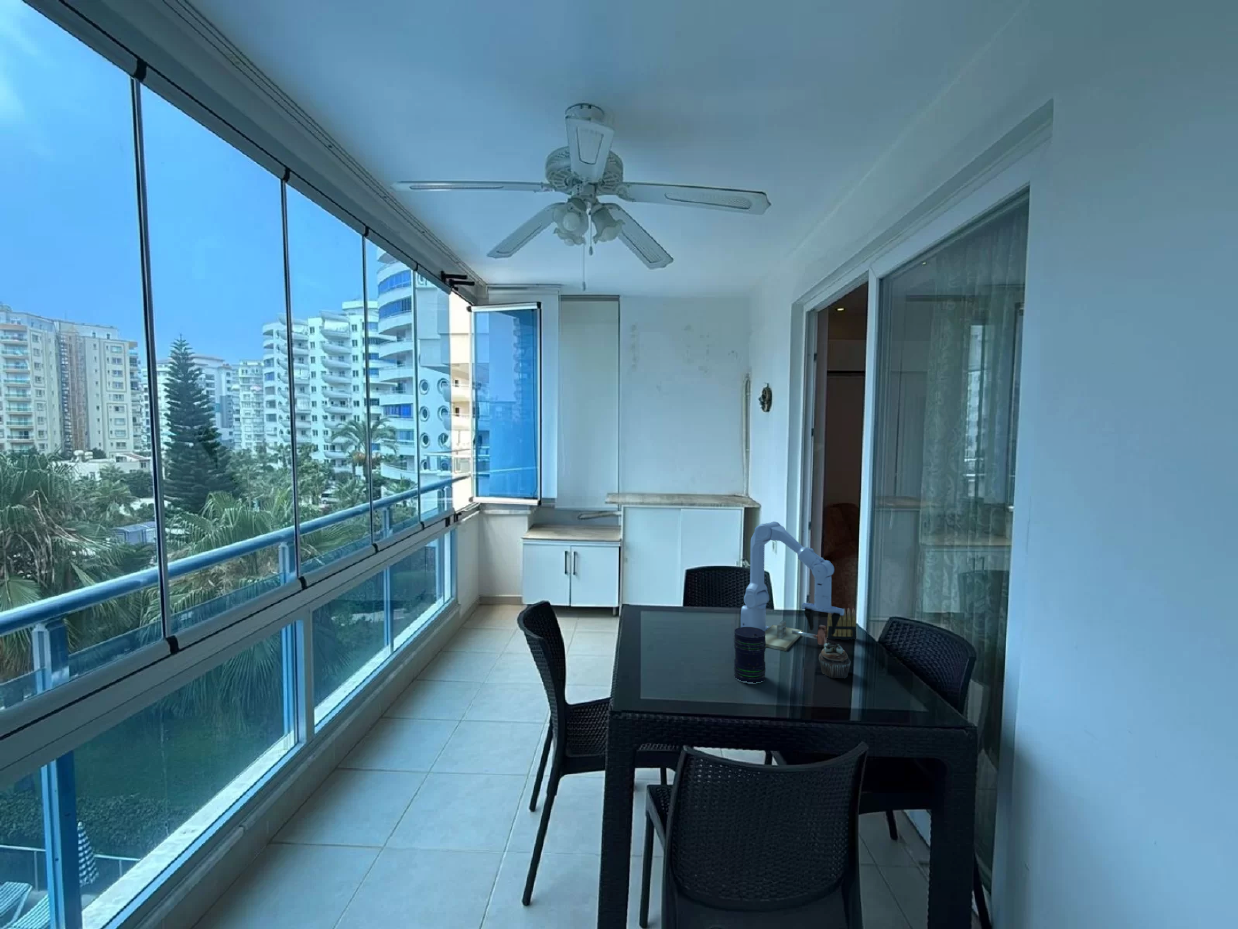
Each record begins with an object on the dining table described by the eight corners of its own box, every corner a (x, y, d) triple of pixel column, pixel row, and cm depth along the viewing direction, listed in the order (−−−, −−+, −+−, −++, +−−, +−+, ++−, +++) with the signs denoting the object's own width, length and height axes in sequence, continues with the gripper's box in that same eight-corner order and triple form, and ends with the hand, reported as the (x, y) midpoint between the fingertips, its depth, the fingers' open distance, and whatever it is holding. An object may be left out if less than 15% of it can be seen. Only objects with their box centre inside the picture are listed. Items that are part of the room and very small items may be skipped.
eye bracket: (753, 644, 207) (753, 628, 207) (772, 627, 225) (772, 612, 225) (786, 651, 200) (786, 634, 200) (802, 633, 219) (802, 617, 218)
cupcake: (853, 681, 175) (853, 650, 175) (821, 678, 177) (821, 647, 177) (847, 669, 184) (847, 639, 184) (816, 666, 186) (816, 637, 186)
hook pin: (789, 641, 207) (789, 623, 207) (794, 636, 213) (794, 617, 213) (822, 648, 200) (823, 628, 200) (827, 642, 206) (827, 623, 206)
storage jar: (727, 674, 180) (727, 629, 180) (752, 669, 184) (752, 625, 184) (746, 687, 171) (746, 639, 171) (772, 681, 175) (772, 634, 174)
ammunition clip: (854, 638, 213) (855, 607, 213) (856, 640, 211) (857, 608, 211) (826, 637, 214) (826, 606, 213) (827, 639, 212) (828, 608, 212)
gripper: (799, 594, 204) (799, 630, 204) (841, 600, 196) (840, 638, 196) (804, 589, 210) (804, 625, 210) (845, 595, 202) (845, 632, 202)
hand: (822, 631), depth 204 cm, fingers open, 7 cm apart
